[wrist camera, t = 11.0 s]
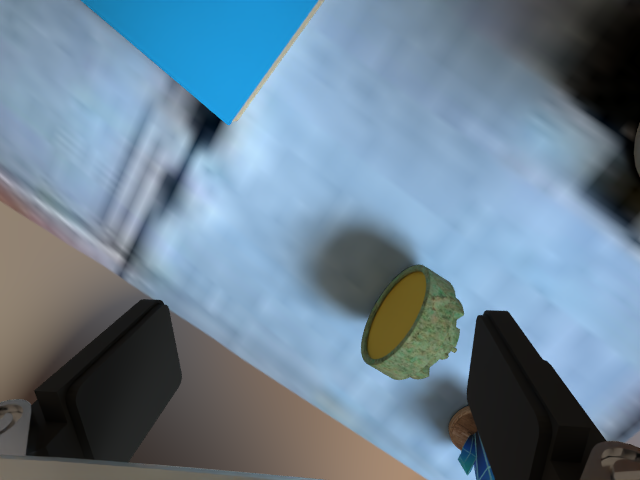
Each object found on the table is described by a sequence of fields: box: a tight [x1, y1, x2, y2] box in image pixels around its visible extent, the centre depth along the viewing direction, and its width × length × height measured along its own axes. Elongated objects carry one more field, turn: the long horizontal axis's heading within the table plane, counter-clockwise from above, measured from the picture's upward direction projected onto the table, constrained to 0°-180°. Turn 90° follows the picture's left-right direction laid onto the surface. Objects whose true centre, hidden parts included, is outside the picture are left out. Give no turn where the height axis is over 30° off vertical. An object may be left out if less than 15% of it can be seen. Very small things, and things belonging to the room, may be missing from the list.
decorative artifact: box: [361, 265, 464, 380], centre depth 33 cm, size 10×7×10 cm
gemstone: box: [449, 406, 495, 480], centre depth 36 cm, size 7×9×12 cm
